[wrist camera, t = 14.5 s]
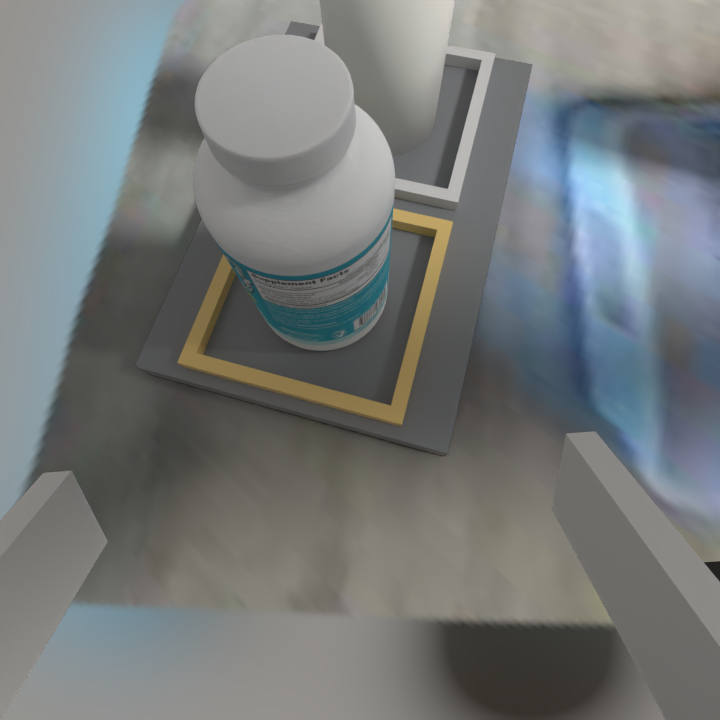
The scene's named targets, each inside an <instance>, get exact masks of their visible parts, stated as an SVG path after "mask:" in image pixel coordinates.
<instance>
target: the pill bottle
mask: <svg viewBox="0 0 720 720" xmlns="http://www.w3.org/2000/svg"><path fill="white" fill-rule="evenodd" d="M195 112H196V117H197V121H198V123H199V126H200V128H201V130H202V133H203V135H204V137H205V138H204V140H203V141H202V144H201V146H200V148H199V151H198V154H197V157H196V161H195V165H194V173H193V190H194V198H195V202H196V205H197V208H198V211H199V214H200V216H201V218H202V220H203V222H204V224H205V226H206V227H207V229H208V231H209V232H210V234H211V235H212V237H213V238H214V240H215V242H216V243H217V245H218V246H219V248H220V249H221V251H222V253H223V254H224V256H225V257H226V259H227V260H228V262H229V264H230V265H231V267H232V268H233V270H234V271H235V273H236V275H237V276H238V278H239V279H240V281H241V283H242V284H243V286H244V287H245V289H246V291H247V292H248V294H249V295H250V297H251V298H252V300H253V301H254V303H255V305H256V306H257V308H258V309H259V311H260V313H261V314H262V316H263V317H264V319H265V320H266V322H267V323H268V325H269V326H270V327H271V328H272V330H273V331H274V332H275V333H276V334H277V335H279V336H280V337H281V338H282V339H284V340H285V341H287V342H289V343H291V344H293V345H295V346H298V347H300V348H304V349H308V350H315V351H327V350H334V349H339V348H342V347H345V346H348V345H350V344H352V343H354V342H356V341H357V340H359V339H360V338H362V337H363V336H365V335H366V334H367V333H368V332H369V331H370V330H371V329H372V328H373V326H374V325H375V324H376V323H377V321H378V320H379V318H380V316H381V314H382V312H383V310H384V307H385V304H386V299H387V293H388V280H389V266H390V251H391V233H392V220H393V207H394V193H395V169H394V162H393V158H392V154H391V150H390V148H389V145H388V142H387V140H386V138H385V136H384V135H383V133H382V131H381V130H380V128H379V126H378V125H377V124H376V123H375V121H374V120H373V119H372V118H371V117H370V116H369V115H368V114H367V113H366V112H365V111H364V110H362V109H361V108H360V107H358V106H357V105H356V104H355V102H354V89H353V83H352V79H351V76H350V73H349V71H348V69H347V67H346V66H345V64H344V62H343V61H342V60H341V59H340V57H339V56H338V55H337V54H336V53H334V52H333V51H332V50H331V49H329V48H328V47H326V46H325V45H323V44H321V43H319V42H317V41H314V40H312V39H308V38H305V37H301V36H295V35H282V34H281V35H268V36H262V37H258V38H254V39H250V40H247V41H244V42H242V43H240V44H238V45H236V46H234V47H232V48H230V49H228V50H227V51H225V52H224V53H223V54H221V55H220V56H219V57H218V58H216V59H215V60H214V61H213V62H212V63H211V64H210V66H209V67H208V68H207V70H206V71H205V72H204V74H203V75H202V77H201V79H200V81H199V83H198V86H197V90H196V94H195Z"/></svg>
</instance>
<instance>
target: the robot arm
mask: <svg viewBox="0 0 720 720" xmlns="http://www.w3.org/2000/svg"><path fill="white" fill-rule="evenodd" d="M552 510H553V512H554V514H555V516H556V518H557V519H558V521H559V523H560V525H561V527H562V529H563V531H564V532H565V534H566V536H567V538H568V540H569V542H570V543H571V545H572V547H573V549H574V551H575V553H576V555H577V556H578V558H579V560H580V562H581V564H582V566H583V568H584V569H585V571H586V573H587V575H588V577H589V579H590V581H591V582H592V584H593V586H594V588H595V590H596V592H597V594H598V595H599V597H600V599H601V601H602V603H603V605H604V607H605V608H606V610H607V612H608V614H609V616H610V618H611V619H612V621H613V623H614V625H615V627H616V629H617V631H618V632H619V634H620V636H621V638H622V640H623V642H624V643H625V645H626V647H627V649H628V651H629V653H630V655H631V656H632V658H633V660H634V662H635V664H636V666H637V668H638V670H639V671H640V673H641V675H642V677H643V679H644V681H645V682H646V684H647V686H648V688H649V690H650V692H651V694H652V695H653V697H654V699H655V701H656V703H657V705H658V707H659V708H660V710H661V712H662V714H663V716H664V718H665V720H720V561H718V562H703V561H702V560H701V559H700V557H699V556H698V555H697V554H696V552H695V551H694V550H693V549H692V548H691V546H690V545H689V544H688V543H687V542H686V540H685V539H684V538H683V537H682V536H681V534H680V533H679V532H678V531H677V529H676V528H675V527H674V526H673V525H672V523H671V522H670V521H669V520H668V519H667V517H666V516H665V515H664V514H663V513H662V511H661V510H660V509H659V508H658V507H657V505H656V504H655V503H654V502H653V500H652V499H651V498H650V497H649V496H648V494H647V493H646V492H645V491H644V490H643V488H642V487H641V486H640V485H639V484H638V482H637V481H636V480H635V479H634V477H633V476H632V475H631V474H630V473H629V471H628V470H627V469H626V468H625V467H624V465H623V464H622V463H621V462H620V461H619V459H618V458H617V457H616V456H615V455H614V453H613V452H612V451H611V450H610V448H609V447H608V446H607V445H606V444H605V442H604V441H603V440H602V439H601V438H600V436H599V435H598V434H597V433H596V432H595V431H593V432H579V433H566V435H565V441H564V447H563V452H562V458H561V463H560V469H559V474H558V480H557V485H556V491H555V496H554V502H553V507H552ZM107 542H108V541H107V539H106V537H105V535H104V533H103V531H102V529H101V527H100V525H99V523H98V521H97V519H96V517H95V516H94V514H93V512H92V510H91V508H90V506H89V504H88V502H87V500H86V498H85V496H84V494H83V492H82V490H81V488H80V486H79V484H78V482H77V480H76V478H75V476H74V474H73V472H72V471H61V472H48V473H43V474H42V475H41V476H40V477H39V478H38V479H37V480H36V482H35V483H34V484H33V485H32V486H31V487H30V488H29V489H28V490H27V491H26V493H25V494H24V495H23V496H22V497H21V498H20V499H19V500H18V501H17V503H16V504H15V505H14V506H13V507H12V508H11V509H10V510H9V511H8V512H7V514H6V515H5V516H4V517H3V518H2V519H1V520H0V720H2V719H3V716H4V715H5V714H6V712H7V710H8V708H9V707H10V705H11V704H12V702H13V700H14V699H15V697H16V695H17V694H18V692H19V690H20V688H21V687H22V685H23V683H24V681H25V680H26V678H27V677H28V675H29V673H30V671H31V670H32V668H33V666H34V665H35V663H36V662H37V660H38V658H39V656H40V655H41V653H42V651H43V650H44V648H45V646H46V644H47V643H48V641H49V640H50V638H51V636H52V635H53V633H54V631H55V630H56V628H57V626H58V624H59V623H60V621H61V619H62V617H63V616H64V614H65V613H66V611H67V609H68V608H69V606H70V604H71V603H72V601H73V599H74V598H75V596H76V594H77V593H78V591H79V589H80V587H81V586H82V584H83V582H84V581H85V579H86V577H87V576H88V574H89V572H90V571H91V569H92V567H93V566H94V564H95V562H96V561H97V559H98V557H99V555H100V554H101V552H102V550H103V549H104V547H105V545H106V544H107Z"/></svg>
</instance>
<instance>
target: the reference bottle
mask: <svg viewBox="0 0 720 720" xmlns="http://www.w3.org/2000/svg"><path fill="white" fill-rule="evenodd" d="M454 3H455V0H320V7H321V16H322V26H323V35H324V44H325V46H326V47H328V48H329V49H331V50H332V51H333V52H334V53H336V54H337V55H338V56H339V57H340V59H341V60H342V61H343V62H344V64H345V66H346V67H347V69H348V71H349V73H350V76H351V79H352V83H353V89H354V102H355V104H356V105H357V106H358V107H360V108H361V109H362V110H364V111H365V112H366V113H367V114H368V115H369V116H370V117H371V118H372V119H373V120H374V121H375V123H376V124H377V125H378V126H379V128H380V130H381V131H382V133H383V135H384V136H385V138H386V140H387V142H388V145H389V148H390V150H391V154H392V156H395V155H399V154H403V153H406V152H408V151H411V150H412V149H414V148H416V147H417V146H419V145H420V144H421V143H422V142H424V141H425V140H426V138H427V137H428V136H429V135H430V133H431V131H432V129H433V126H434V123H435V117H436V111H437V105H438V99H439V93H440V87H441V81H442V75H443V69H444V63H445V57H446V51H447V45H448V39H449V33H450V27H451V21H452V15H453V9H454Z"/></svg>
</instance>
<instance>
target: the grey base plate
mask: <svg viewBox="0 0 720 720" xmlns="http://www.w3.org/2000/svg"><path fill="white" fill-rule="evenodd" d="M285 35H295V36H301V37H305V38H308V39H312V40H314V41H317V42H319V43H321V44H323V45H325V44H324V35H323V26H322V23H321V25H320V26H315V25H309V24H304V23H298V22H292V21H291V23H290V25H289V27H288V30H287V32H286V34H285ZM531 68H532V64H527V63H522V62H516V61H510V60H505V59H499V58H495V53H489V52H484V51H478V50H472V49H467V48H461V47H455V46H450V45H447V51H446V57H445V63H444V69H443V75H442V81H441V87H440V93H439V99H438V105H437V111H436V117H435V123H434V126H433V129H432V131H431V133H430V135H429V136H428V137H427V138H426V140H425V141H424V142H422V143H421V144H420V145H419V146H417V147H416V148H414V149H412V150H411V151H408V152H406V153H403V154H399V155H395V156H392V158H393V162H394V169H395V193H394V207H393V220H392V233H391V251H390V266H389V280H388V293H387V299H386V304H385V307H384V310H383V312H382V314H381V316H380V318H379V320H378V321H377V323H376V324H375V325H374V326H373V328H372V329H371V330H370V331H369V332H368V333H367V334H366V335H365V336H363V337H362V338H360V339H359V340H357V341H356V342H354V343H352V344H350V345H348V346H345V347H342V348H339V349H334V350H327V351H315V350H308V349H304V348H300V347H298V346H295V345H293V344H291V343H289V342H287V341H285V340H284V339H282V338H281V337H280V336H279V335H277V334H276V333H275V332H274V331H273V330H272V328H271V327H270V326H269V325H268V323H267V322H266V320H265V319H264V317H263V316H262V314H261V313H260V311H259V309H258V308H257V306H256V305H255V303H254V301H253V300H252V298H251V297H250V295H249V294H248V292H247V291H246V289H245V287H244V286H243V284H242V283H241V281H240V279H239V278H238V276H237V275H236V273H235V271H234V270H233V268H232V267H231V265H230V264H229V262H228V260H227V259H226V257H225V256H224V254H223V253H222V251H221V249H220V248H219V246H218V245H217V243H216V242H215V240H214V238H213V237H212V235H211V234H210V232H209V231H208V229H207V227H206V226H205V224H204V222H203V220H202V219H201V221H200V223H199V225H198V228H197V230H196V232H195V234H194V236H193V239H192V241H191V243H190V245H189V247H188V250H187V252H186V254H185V256H184V258H183V261H182V263H181V265H180V267H179V269H178V272H177V274H176V276H175V278H174V280H173V283H172V285H171V287H170V289H169V291H168V294H167V296H166V298H165V300H164V302H163V305H162V307H161V309H160V311H159V313H158V316H157V318H156V320H155V322H154V324H153V327H152V329H151V331H150V333H149V335H148V338H147V340H146V342H145V344H144V346H143V349H142V351H141V353H140V355H139V357H138V360H137V362H136V364H135V367H136V368H138V369H140V370H142V371H144V372H146V373H147V374H151V375H154V376H158V377H162V378H165V379H169V380H172V381H176V382H179V383H183V384H187V385H190V386H194V387H197V388H201V389H204V390H208V391H212V392H215V393H219V394H222V395H226V396H230V397H233V398H237V399H240V400H244V401H247V402H251V403H255V404H258V405H262V406H265V407H269V408H273V409H276V410H280V411H283V412H287V413H290V414H294V415H298V416H301V417H305V418H308V419H312V420H316V421H319V422H323V423H326V424H330V425H333V426H337V427H341V428H344V429H348V430H351V431H355V432H359V433H362V434H366V435H369V436H373V437H376V438H380V439H384V440H387V441H391V442H394V443H398V444H402V445H405V446H409V447H412V448H416V449H419V450H423V451H427V452H430V453H434V454H437V455H441V456H445V455H447V454H448V452H449V448H450V443H451V438H452V434H453V429H454V425H455V420H456V415H457V411H458V406H459V401H460V397H461V392H462V388H463V383H464V378H465V374H466V369H467V364H468V360H469V355H470V351H471V346H472V341H473V337H474V332H475V327H476V323H477V318H478V314H479V309H480V304H481V300H482V295H483V290H484V286H485V281H486V277H487V272H488V267H489V263H490V258H491V253H492V249H493V244H494V240H495V235H496V230H497V226H498V221H499V216H500V212H501V207H502V202H503V198H504V193H505V189H506V184H507V179H508V175H509V170H510V165H511V161H512V156H513V152H514V147H515V142H516V138H517V133H518V128H519V124H520V119H521V115H522V110H523V105H524V101H525V96H526V91H527V87H528V82H529V78H530V73H531Z"/></svg>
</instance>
